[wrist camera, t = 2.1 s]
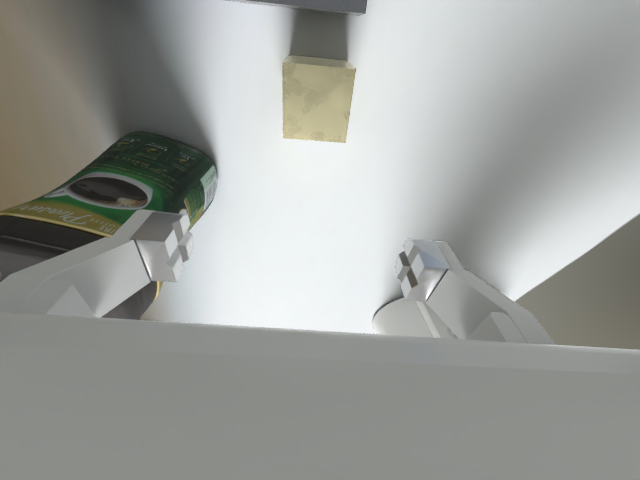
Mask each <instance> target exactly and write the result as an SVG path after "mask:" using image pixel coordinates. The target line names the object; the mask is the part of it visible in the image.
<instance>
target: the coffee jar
mask: <svg viewBox="0 0 640 480" xmlns="http://www.w3.org/2000/svg"><path fill="white" fill-rule="evenodd" d="M216 187H217V172H216V168H215V166H214V164H213V162H212V161H211V160H210V159H209V157H208V156H207V155H205V154H204V153H202V152H201V151H199V150H197V149H195V148H193V147H190V146H188V145H186V144H183V143H181V142H178V141H175V140H172V139H169V138H166V137H163V136H159V135H155V134H150V133H145V132H132V133H129V134H127V135H125V136H124V137H122V138H121V139H119V140H118V141H117V142H115V143H114V144H113V145H112V146H110V147H109V148H108V149H107V150H106V151H105V152H103V153H102V154H101V155H100V156H99V157H98V158H96V159H95V160H94V161H93V162H92V163H90V164H89V165H88V166H86V167H85V168H84V169H83V170H81V171H80V172H79V173H77V174H76V175H75V176H73V177H72V178H71V179H69V180H68V181H67V182H65V183H64V184H62V185H61V186H59V187H58V188H56V189H54V190H53V191H51V192H49V193H47V194H45V195H43V196H41V197H39V198H37V199H34V200H32V201H29V202H26V203H23V204H20V205H17V206H14V207H11V208H8V209H6V210H3V211H0V282H1V281H3V280H4V279H5V278H6V277H8V276H9V275H10V274H13V273H15V272H18V271H20V270H23V269H25V268H28V267H31V266H33V265H36V264H38V263H41V262H43V261H46V260H48V259H51V258H53V257H56V256H59V255H61V254H64V253H66V252H69V251H71V250H74V249H76V248H79V247H81V246H84V245H87V244H89V243H92V242H94V241H97V240H99V239H102V238H104V237H109V238H111V237H112V235H113V234H114V233H115V232H116V231H117V230H118V229H119V228H120V227H121V226H122V225H123V224H124V223H125V222H126V221H127V220H128V219H129V218H130V217H131V216H132V215H133V214H134V213H135V212H136V211H137V210H140V209H144V210H153V211H161V212H169V213H177V214H185V215H187V216H188V217H189V221H190V226H189V228H188V229H187V230H188V231H189V230H190V229H191V228H192V227H193V226H194V224H195V223H196V222H197V221H198V220H199V219H200V217H201V216H202V215H203V214H204V212H205V211H206V210H207V209H208V207H209V206H210V204H211V203H212V201H213V198H214V196H215V192H216ZM162 283H163V281H150V283H148V284H147V285H146V286H144V287H143V288H141V289H140V290H138V291H137V292H136V293H134V294H133V295H131V296H130V297H129V298H127V299H126V300H124V301H123V302H122V303H120V304H119V305H117V306H116V307H115V308H113V309H112V310H110V311H109V312H108V313H106V314H105V315H103V316H102V317H101V318H115V319H132V320H140V317H141V316H142V315H143V313H144V312H145V311H146V310H147V309H148V307H149V306H150V305H151V303H152V302H153V301H154V300H155V299H156V297H157V295H158V293H159V291H160V289H161V286H162Z"/></svg>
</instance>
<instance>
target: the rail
mask: <svg viewBox="0 0 640 480" xmlns="http://www.w3.org/2000/svg"><path fill="white" fill-rule="evenodd" d="M226 1H235V2H244V3H253V4H262V5H271V6H280V7H289V8H298V9H307V10H316V11H325V12H334V13H343V14H352V15H363V14H365V12H366V5H367V0H226Z"/></svg>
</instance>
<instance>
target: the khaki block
mask: <svg viewBox="0 0 640 480" xmlns="http://www.w3.org/2000/svg"><path fill="white" fill-rule="evenodd" d="M282 63H283V138H289V139H302V140H315V141H327V142H340V143H345V142H346V135H347V128H348V121H349V114H350V107H351V100H352V93H353V86H354V79H355V72H356V69H355V68H354V67H353V66H352V65H351V64H350V63H349V62H348V61H346V60H335V59H325V58H315V57H305V56H295V55H289V56H288V57H287V58H286V59H285V60H284V61H283V62H282Z"/></svg>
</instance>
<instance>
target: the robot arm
mask: <svg viewBox="0 0 640 480" xmlns="http://www.w3.org/2000/svg"><path fill="white" fill-rule="evenodd" d="M189 226H190V221H189V217H188V216H187V215H185V214H177V213H169V212H161V211H153V210H144V209H140V210H137V211H136V212H135V213H134V214H133V215H132V216H131V217H130V218H129V219H128V220H127V221H126V222H125V223H124V224H123V225H122V226H121V227H120V228H119V229H118V230H117V231H116V232H115V233H114V234H113V235H112V237H111V238H109V237H104V238H102V239H99V240H97V241H94V242H92V243H89V244H87V245H84V246H81V247H79V248H76V249H74V250H71V251H69V252H66V253H64V254H61V255H59V256H56V257H53V258H51V259H48V260H46V261H43V262H41V263H38V264H36V265H33V266H31V267H28V268H25V269H23V270H20V271H18V272H15V273H13V274H10V275H9V276H8V277H6V278H5V279H4V280H3V281H1V282H0V480H640V350H631V349H615V348H598V347H581V346H564V345H555V343H554V342H553V341H552V339H551V338H550V337H549V336H548V334H547V333H546V332H545V330H544V329H543V328H542V326H541V325H540V324H539V323H538V321H537V320H536V319H535V317H534V316H533V315H532V314H531V313H530V312H528V311H527V310H525V309H523V308H522V307H521V306H519V305H518V304H517V303H515V302H514V301H512V300H511V299H509V298H508V297H506V296H505V295H503V294H502V293H501V292H499V291H498V290H496V289H495V288H493V287H492V286H490V285H489V284H487V283H486V282H485V281H483V280H482V279H480V278H479V277H477V276H476V275H474V274H473V273H471V272H470V271H465V269H464V267H463V266H462V264H461V263H460V261H459V260H458V258H457V257H456V255H455V253H454V252H453V250H452V249H451V247H450V246H449V244H448V243H447V242H445V241H429V240H419V239H409V238H408V239H407V240H406V241H405V242H404V244H403V248H404V251H403V252H402V253H400V254H399V255H398V257H397V260H396V265H395V270H396V275H397V277H398V278H399V279H400V280H401V281H402V284H401V289H402V292H403V295H404V298H401V299H398V300H395V301H393V302H391V303H389V304H387V305H386V306H384V307H383V308H382V309H380V310H379V311H378V312H377V314H376V315H375V317H374V319H373V328H374V330H375V332H376V334H365V333H348V332H332V331H315V330H298V329H282V328H265V327H249V326H232V325H215V324H199V323H182V322H165V321H148V320H132V319H115V318H101V317H102V316H103V315H105V314H106V313H108V312H109V311H110V310H112V309H113V308H115V307H116V306H117V305H119V304H120V303H122V302H123V301H124V300H126V299H127V298H129V297H130V296H131V295H133V294H134V293H136V292H137V291H138V290H140V289H141V288H143V287H144V286H146V285H147V284H148V283H150V281H164V282H177V281H178V279H179V277H180V275H181V273H182V271H183V269H184V265H183V262H185V261H187V260H188V259H189V258H190V256H191V254H192V250H193V235H192V234H191V233H190V232H189V231H188V230H187V229H188V228H189Z"/></svg>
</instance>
